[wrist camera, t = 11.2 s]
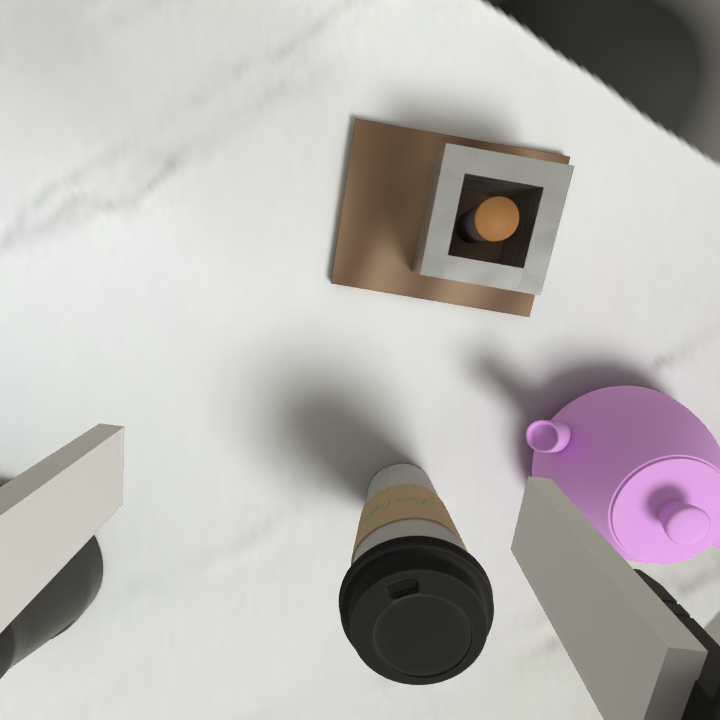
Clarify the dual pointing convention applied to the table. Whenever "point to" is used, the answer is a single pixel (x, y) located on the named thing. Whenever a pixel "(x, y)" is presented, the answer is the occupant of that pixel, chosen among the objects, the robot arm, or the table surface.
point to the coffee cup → (413, 584)
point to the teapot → (635, 471)
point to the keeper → (419, 219)
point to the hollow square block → (495, 178)
